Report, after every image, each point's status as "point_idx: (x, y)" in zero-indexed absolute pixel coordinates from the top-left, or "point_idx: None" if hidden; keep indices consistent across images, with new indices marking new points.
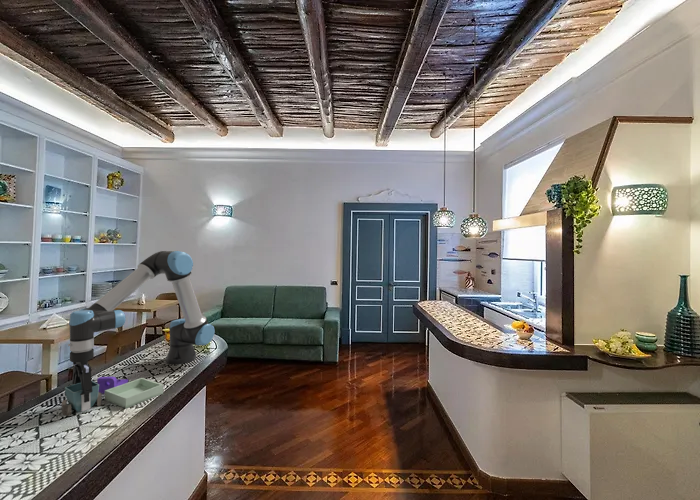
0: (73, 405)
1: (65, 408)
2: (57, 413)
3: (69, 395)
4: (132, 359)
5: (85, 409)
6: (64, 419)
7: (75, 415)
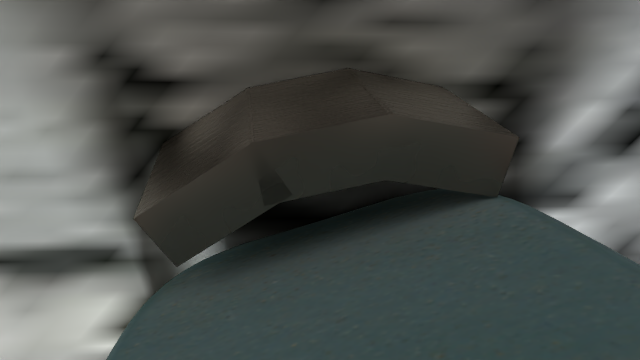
0: (209, 271)
1: (201, 154)
2: (382, 16)
3: (330, 334)
4: None
5: None
6: (54, 100)
7: (122, 225)
